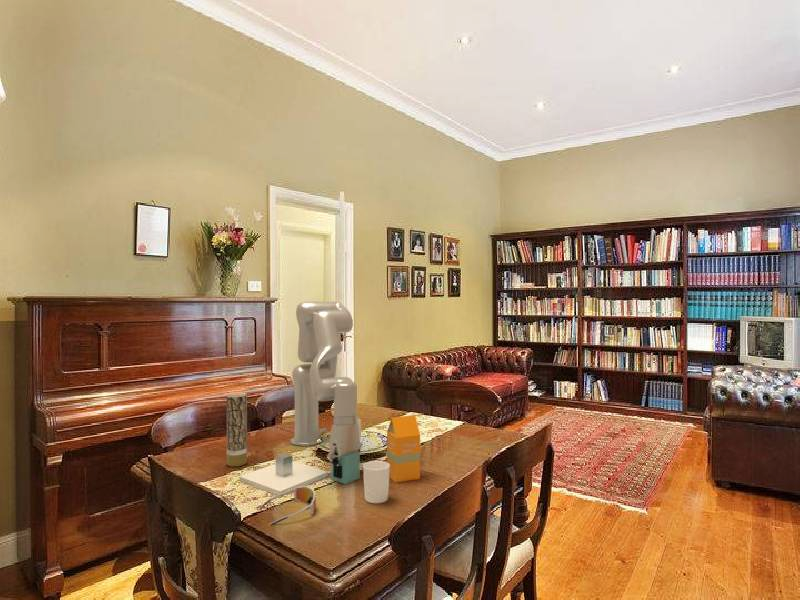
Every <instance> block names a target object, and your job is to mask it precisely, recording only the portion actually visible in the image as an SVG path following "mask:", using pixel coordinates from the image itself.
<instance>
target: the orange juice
mask: <svg viewBox="0 0 800 600" xmlns="http://www.w3.org/2000/svg"><path fill="white" fill-rule="evenodd" d="M386 462H387V463H389V464H390V473H389V479H391V480H392V481H393V482H394V483H401V482H407V481H408V482H409V481H414V480H420V479H421V433H420V430H419V425H418V422H417V417H416V415H415V414H414V415H406V416H394V417H391V419H390V422H389V426H388V428H387V431H386Z"/></svg>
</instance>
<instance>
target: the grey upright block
mask: <svg viewBox="0 0 800 600" xmlns="http://www.w3.org/2000/svg"><path fill="white" fill-rule="evenodd" d="M292 461H293V455H292V454H290V453H286V452H285V453H282V454H278V455H275V464H276V475H278V476H281V477H285V476H288V475H290V474H292Z"/></svg>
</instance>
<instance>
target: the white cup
mask: <svg viewBox="0 0 800 600" xmlns="http://www.w3.org/2000/svg"><path fill="white" fill-rule="evenodd" d="M362 468H363V469H362V470H363V471H362V472H363V487H364V488H363V489H364V500H365V501H366V502H367V503H370V504H382V503H385V502H387V501H388V499H389V487H390V477H389V473H390V464H389V463H387V461H385V460H370V461H368V462H365V463H363V465H362Z"/></svg>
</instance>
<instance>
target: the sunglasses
mask: <svg viewBox="0 0 800 600" xmlns="http://www.w3.org/2000/svg"><path fill="white" fill-rule="evenodd" d="M292 493H293V494H294V500H295V501H297V502H299V501H300V502H305V503H307V504H308V505H307V506H306V507H304V508H302V509H300V510H298V511H297V512H294V513H292V514H290V515H286V516H283V517H281V518H279V519H277V520H275V521H272V522H270V523H268V525H269V526H271V525H275V524H278V523H280V522H282V521H285V520H287V519H291V518H293V517H296V516H297V515H299V514H301V513H304V512H307V511H309V510H310V511H311V512H310V515H311V516H313V515H314V514H315V510H316V505H317V502H316V501H317V498H316V491H315V490H314V489H313V487H311V486H309V485H306V486H301V487H296V488H295V489H292V490H289V491H286V492H284V493H281V494H279V495H275V496H272V497H270V498H268V499H267V500H266V501H265V502H264V503H263V504H262V505H261V506H259V507H258V509H257V511H258V512H259V511H261V510H262V509H263V508H264V507H265V506H266V505H267V504H269V503H270V502H271V501H274V500H276V499H278V498H279V497H282V496H284V495H291V494H292Z"/></svg>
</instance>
